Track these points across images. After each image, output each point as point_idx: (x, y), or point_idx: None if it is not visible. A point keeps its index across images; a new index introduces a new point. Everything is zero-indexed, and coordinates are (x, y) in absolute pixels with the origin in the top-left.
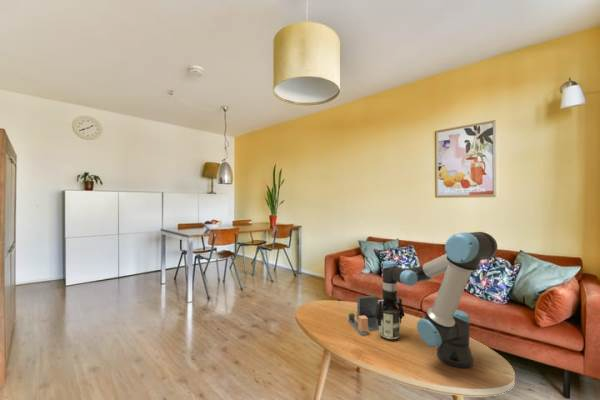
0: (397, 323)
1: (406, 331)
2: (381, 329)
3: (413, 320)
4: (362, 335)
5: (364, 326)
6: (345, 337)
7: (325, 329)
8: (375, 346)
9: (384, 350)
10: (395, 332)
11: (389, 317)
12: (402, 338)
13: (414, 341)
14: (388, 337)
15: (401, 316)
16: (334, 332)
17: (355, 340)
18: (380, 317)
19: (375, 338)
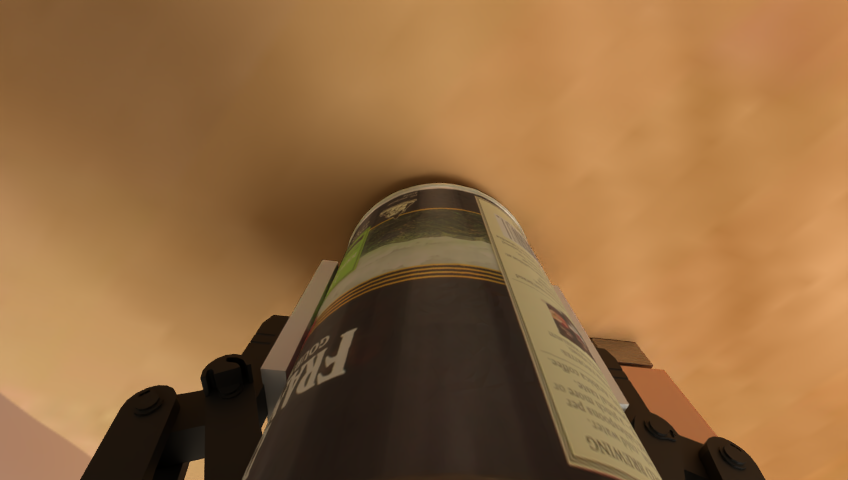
0: (401, 272)
1: (219, 283)
2: (570, 307)
3: (63, 390)
4: (631, 343)
5: (661, 405)
6: (768, 360)
7: (779, 466)
8: (691, 170)
9: (683, 70)
10: (446, 209)
11: (606, 405)
12: (333, 200)
13: (245, 109)
14: (510, 216)
15: (211, 394)
16: (766, 427)
17: (746, 305)
18: (676, 462)
19: (569, 279)
